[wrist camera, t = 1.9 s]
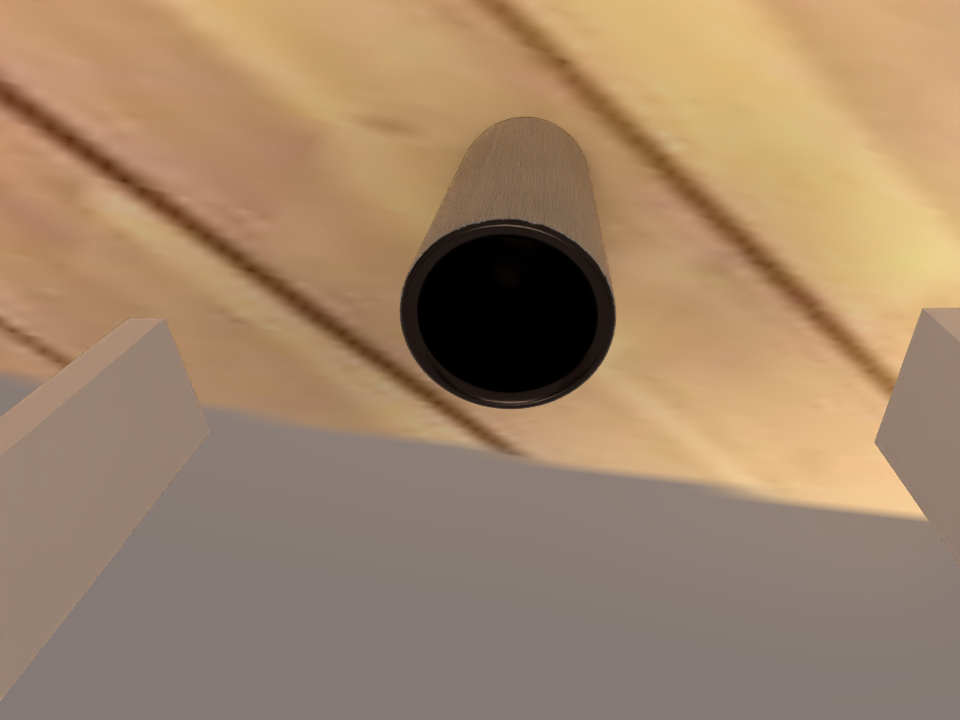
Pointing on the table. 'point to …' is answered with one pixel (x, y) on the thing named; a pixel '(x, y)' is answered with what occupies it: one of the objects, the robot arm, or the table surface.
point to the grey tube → (512, 273)
